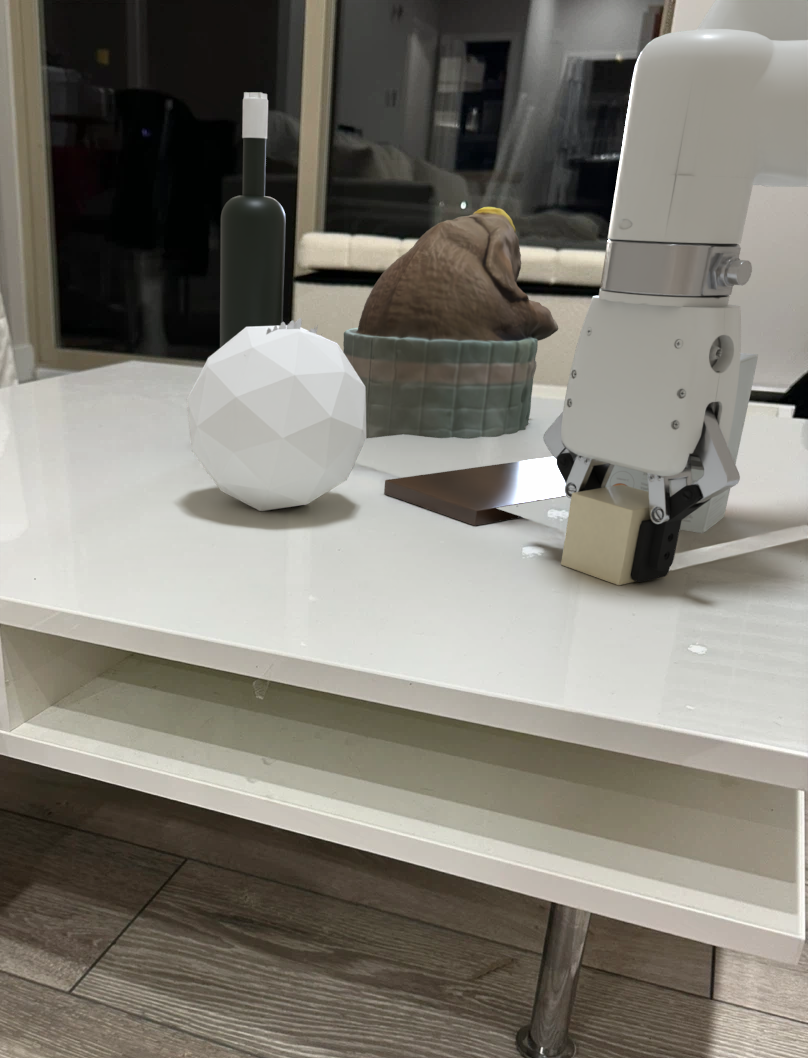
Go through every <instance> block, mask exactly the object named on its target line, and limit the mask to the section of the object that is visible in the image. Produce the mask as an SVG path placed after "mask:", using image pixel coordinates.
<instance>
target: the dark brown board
mask: <svg viewBox="0 0 808 1058" xmlns="http://www.w3.org/2000/svg"><path fill="white" fill-rule="evenodd" d="M565 484H566V483H565V481H564V479H563V477H562V475H561V473H560V471H559V469H558V467H557V459H554V457H553V456H548V457H541V458H533V459H527V460H518V461H512V462H504V463H499V464H491V465H483V466H477V467H476V466H475V467H469V468H462V469H455V470H448V471H447V470H446V471H439V472H433V473H425V474H418V475H412V476H411V475H410V476H404V477H403V476H402V477H397V478H392V479H391V478H389V479H385V480H384V489H383V494H384V495H386V496H389V497H392V498H395V499H398V500H400V501H404V502H406V503H409V504H412V505H415V506H418V507H420V508H423V509H426V510H429V511H432V512H435V513H437V514H440V515H443V516H446V517H449V518H452V519H454V520H457V521H460V522H463V523H466V524H469V525H472V526H483V525H487V524H493V523H498V522H504V521H509V520H514V519H515V518H516V519H520V518H522V516H521V515H517V514H515V513H512V512H508V511H506V510H503V509H500V508H504V507H505V508H506V507H510V506H516V505H522V504H528V503H534V502H540V501H546V500H551V499H557V498H564V497H567V496H566V495H565V492H564V487H565Z"/></svg>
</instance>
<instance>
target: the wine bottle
mask: <svg viewBox="0 0 808 1058" xmlns="http://www.w3.org/2000/svg"><path fill="white" fill-rule="evenodd" d="M268 121H269V100H268V94H267V93H263V92H262V91H260V92H258V91H257V92H256V91H255V92H254V91H253V92H247V91H245V92H243V99H242V125H241V126H242V130H241V131H242V134H241V138H242V140H243V141H242V143H243V144H242V145H243V146H242V195H237V196H234V197H232V198H230V199H229V200H227V202H226V203H225V204H224V206H223V208H222V210H221V214H220V270H219V271H220V272H219V273H220V276H219V277H220V278H219V279H220V281H219V282H220V284H219V285H220V287H219V288H220V290H219V291H220V294H219V295H220V296H219V297H220V298H219V301H220V302H219V349H220V348H221V347H222V346H223V345H225V344H226V343H227V342H228V341H229V340H231V339H232V338H233V337H234V336H236V335H237V334H238V333H239V332H241V331H242V330H243V329H244V328H245V327H255V326H280V325H281V323H282V322H284V321H283V319H284V289H285V288H284V287H285V286H284V285H285V253H286V223H287V222H286V220H287V218H286V217H287V216H286V213H285V209H284V207H283V206H282V205H281V203H280V202H279V201H278V200H277V199H275V198H273V197H271V196H266V166H267V165H266V164H267V163H266V162H267V161H266V160H267V159H266V158H267V139H268V125H269V123H268Z"/></svg>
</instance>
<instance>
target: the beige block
mask: <svg viewBox="0 0 808 1058" xmlns="http://www.w3.org/2000/svg"><path fill="white" fill-rule="evenodd" d="M567 516H568V517H567V524H566V530H565V536H564V542H563V549H562V555H561V562H560V565H561V566H563V567H566V568H568V569H572V570H575V571H577V572H580V573H583V574H586V575H589V576H591V577H594V578H596V579H600V580H602V581H606V582H608V583H610V584H613V585H616V586H621V585H627V584H630V583H634V582H636V581H634V580H632V578H631V570H632V565H633V560H634V554H635V549H636V544H637V538H638V533H639V528H640V524H641V522H642V521H644V520H649V519H650V512H649V493H648V492H647V491H643V490H640V489H636V488H632V487H629V486H625V485H617V486H611V487H605V488H599V489H593V490H586V491H580V492H574V493H572V497H571V498H570V504H569V510H568V515H567Z"/></svg>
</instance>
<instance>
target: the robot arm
mask: <svg viewBox="0 0 808 1058" xmlns="http://www.w3.org/2000/svg"><path fill="white" fill-rule="evenodd" d="M624 125H625V126H624V129H623V131H624V132H623V136H622V137H623V138H622V146H621V151H620V155H619V156H620V157H619V163H618V170H617V176H616V181H615V182H616V183H615V190H614V194H613V203H612V208H611V214H610V220H609V221H610V222H609V227H608V234H607V239H608V240H607V242H606V248H605V254H604V259H603V265H602V266H603V267H602V273H601V278H600V279H601V280H600V284H599V285H600V286H599V292H598V295H593V296H592V298H591V300H590V303H589V305H588V308H587V311H586V314H585V316H584V321H583V323H582V326H581V329H580V332H579V336H578V339H577V343H576V347H575V351H574V354H573V358H572V363H571V367H570V372H569V377H568V381H567V385H566V390H565V397H564V402H563V408H562V412H561V413H560V414H559V415H558V416H557V418H556V419H555V420H554V421H553V422H552V423H551V425H550V426H549V427H548V428H547V430H546V431H544V433H543V437H542V438H543V439H542V440H543V443H544V444H545V446H546V447H547V449H548V450H549V452H550V454H551V456H552V457H554V459H557V467H558V469H559V471H560V473H561V475H562V477H563V479H564V481H565V483H566V484H565V487H564V492H565V495H566V496H565V497H567V498H568V499H571V497H572V493H574V492H580V491H586V490H593V489H599V488H605V486H606V484H607V482H608V479H609V477H610V475H611V472H612V470H613V468H614V465H617V466H621V467H625V468H629V469H633V470H637V471H641V472H645V473H648V493H649V512H650V519H649V520H644V521H642V522H641V524H640V528H639V533H638V538H637V544H636V549H635V554H634V560H633V565H632V570H631V578H632V580H634V581H635V582H637V583H644V582H647V581H648V582H649V581H653V580H655V579H660V578H664V577H666V576H667V575H668V574H669V572H670V569H671V567H672V565H673V563H674V559H675V554H676V551H677V550H676V549H677V545H678V540H679V536H680V531H681V530H680V526H681V521H682V519H686V518H689V517H690V516H691V515H692V512H694V511H695V510H696V509H698V508H699V507H701V506H702V505H703V504H705V503H706V502H708V501H709V500H710V499H711V498H712V497H714V496H717V495H719V494H721V493H722V492H724V491H726V490H728V489H730V490H731V488H733V487H735V486H737V485H738V484H739V482H740V479H741V475H740V471H739V470H738V467H737V465H735V462H734V460H733V458H732V455H731V453H730V450H729V448H728V443H729V438H730V432H731V427H732V421H733V415H734V409H735V402H736V394H737V387H738V378H739V368H740V354H741V353H742V312H741V311H742V310H741V306H740V305H736V304H729V301H730V297H731V295H732V293H733V288H734V286H745V285H746V284H747V283H748V282H749V281H750V278H751V276H752V272H753V265H752V262H751V261H750V260H745V259H740V255H741V249H742V247H741V245H740V244H741V243H742V239H743V235H744V230H745V224H746V221H747V220H746V219H747V214H748V210H749V205H750V201H751V196H752V192H753V191H752V190H753V187H754V186H761V187H766V188H768V187H769V188H770V187H771V188H772V187H773V188H774V187H777V188H778V187H780V188H781V187H782V188H783V187H784V188H788V187H789V188H801V187H802V188H803V187H808V0H714V1H713V3H712V5H711V6H710V8H709V10H708V11H707V12H706V14H705V16H704V17H703V18H702V20H701V22H700V23H699V25H698V27H697V28H696V29H689V30H682V31H681V30H680V31H674V32H668V33H665V34H662V35H660V36H658V37H655V38H653V39H652V40H650V41H649V42H648V43H647V44H646V45H645V46H644V48H643V49H642V50H641V51H640V53H639V55H638V57H637V59H636V62H635V65H634V69H633V74H632V79H631V86H630V93H629V100H628V106H627V113H626V118H625V124H624ZM691 469H697V470H704V474H703V476H702V477H701V478H700V479H698V480H697V481H696V482H694V483H692V472H691ZM669 480H670V482H671V497H670V482H669Z"/></svg>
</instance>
